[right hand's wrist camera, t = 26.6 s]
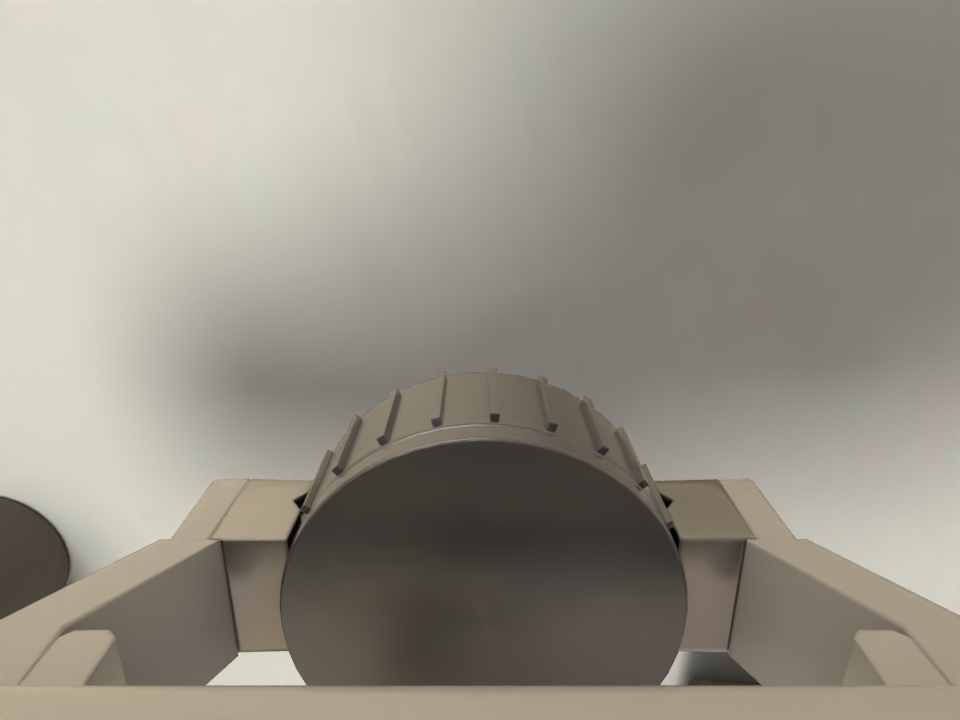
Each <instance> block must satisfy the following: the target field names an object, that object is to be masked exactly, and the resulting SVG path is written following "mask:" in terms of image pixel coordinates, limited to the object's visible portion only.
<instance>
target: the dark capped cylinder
mask: <svg viewBox="0 0 960 720" xmlns="http://www.w3.org/2000/svg"><path fill="white" fill-rule="evenodd" d="M67 574H68V556H67V553H66V549H65V547H64V545H63V542H62V541H61V539H60V537H59V536H58V534H57V533H56V532H55V530H54V529H53V528H52V527H51V526H50V525H49V524H48V523H47V522H46V521H45V520H44V519H43V518H42V517H41V516H39V515H38V514H36V513H35V512H33V511H32V510H30V509H28V508H27V507H25V506H23V505H20V504H18V503H16V502H13V501H10V500H7V499H2V498H0V620H1V619H3V618H5V617H7V616H9V615H11V614H13V613H15V612H17V611H19V610H21V609H23V608H25V607H27V606H29V605H31V604H33V603H35V602H37V601H39V600H41V599H43V598H45V597H47V596H49V595H51V594H52V593H54V592H56V591H58V590H60V589H62V587H63V586H64V584H65V581H66V578H67Z"/></svg>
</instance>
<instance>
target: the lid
mask: <svg viewBox="0 0 960 720" xmlns="http://www.w3.org/2000/svg"><path fill="white" fill-rule="evenodd" d="M300 511H301V512H302V513H301V520H302V523H301V526H300V528H299V530H298V532H297V535H296V537H295V539H294V542H293V544H292V547H291V549H290V552H289V554H288V557H287V559H286V562H285V566H284V571H283V575H282V580H281V587H280V615H281V624H282V630H283V634H284V637H285V641H286V644H287V648H288V651H289V653H290V655H291V658H292V660H293V662H294V664H295V667H296V669H297V670H298V672H299V674H300V675H301V677H302V678H303V680H304V682H305V683H306V685H307V686H660V684H661V683H662V681H663V680H664V678H665V677H666V675H667V674H668V672H669V670H670V668H671V666H672V664H673V662H674V660H675V658H676V656H677V654H678V651H679V648H680V644H681V641H682V638H683V635H684V631H685V624H686V617H687V611H688V600H687V583H686V578H685V572H684V567H683V564H682V561H681V558H680V555H679V552H678V549H677V547H676V544H675V542H674V540H673V537H672V535H671V533H670V531H669V529H671V528H673V527H674V524H673V521H672V519H671V517H670V515H669V513H668V511H667V508H666V506H665V504H664V502H663V500H662V498H661V496H660V494H659V491H658V489H657V487H656V485H655V483H654V481H653V479H652V476H651V474H650V472H649V470H648V468H647V466H646V464H643V465H640V463H639V460H638V458H637V456H636V454H635V452H634V449H633V447H632V445H631V443H630V440H629V438H628V436H627V434H626V432H625V430H624V429H623V428H622V427H620V428H619V429H616V428H615V427H614V426H613V425H612V424H611V423H610V422H609V421H608V420H607V419H606V418H605V417H604V416H603V415H602V414H601V413H599V412H598V411H597V410H595V409H594V407H593V404H592V402H591V400H590V399H588V398H587V397H584V399H583V400H581V399H579V398H577V397H576V396H574V395H572V394H570V393H569V392H567V391H565V390H562V389H560V388H557V387H555V386H552V385H550V384H548V382H547V379H546V378H543V377H539V379H538V380H534V379H530V378H527V377H523V376H517V375H510V374H502V373H497V369H489V373H465V374H456V375H449V376H446V373H445V372H443V373H438V375H437V378H436V379H432V380H428V381H425V382H422V383H419V384H417V385H414V386H411V387H409V388H406V389H404V390H402V391H400V392H399V390H398V388H396V389H394V390H392V391H391V392H390V395H389V398H387V399H385V400H384V401H382V402H381V403H379V404H378V405H377V406H375V407H374V408H372V409H371V410H370V411H368V412H367V413H366V414H365V415H364V416H363V417H361V418H360V417H359V416H358V415H356V416H355V417H354V418H353V419H352V421H351V423H350V426H349V428H348V431H347V433H346V434H345V436H344V437H343V438H342V439H341V441H340V442H339V443H338V445H337V446H336V448H335V450H334V452H332V451H330V450H327V452H326V454H325V456H324V458H323V460H322V463H321V465H320V467H319V469H318V472H317V474H316V476H315V478H314V481H313V483H312V485H311V487H310V490H309V492H308V494H307V496H306V499H305V501H304V503H303V505H302V508H301V510H300Z"/></svg>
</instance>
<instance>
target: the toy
mask: <svg viewBox="0 0 960 720" xmlns="http://www.w3.org/2000/svg"><path fill="white" fill-rule="evenodd" d="M689 686H762V685H761V684H760V683H747V682H732V681H716V680H701V679H695V680H692V681H690V684H689Z"/></svg>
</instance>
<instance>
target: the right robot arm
mask: <svg viewBox="0 0 960 720" xmlns="http://www.w3.org/2000/svg"><path fill="white" fill-rule="evenodd" d="M313 481H314V480H262V479H252V480H250V479H219V480H214V481H213V482H212V483H211V484H210V486H209V487H208V488H207V490H206V491H205V493H204V494H203V495H202V497H201V498H200V499H199V501H198V502H197V504H196V505H195V506H194V508H193V509H192V510H191V512H190V513H189V515H188V516H187V517H186V519H185V520H184V521H183V523H182V524H181V525H180V527H179V528H178V530H177V531H176V532H175V534H174V535H173V536H172V538H171V539H160V540H158V541H156V542H154V543H152V544H150V545H148V546H146V547H144V548H142V549H140V550H138V551H136V552H134V553H132V554H130V555H128V556H126V557H124V558H122V559H120V560H118V561H116V562H114V563H112V564H110V565H108V566H106V567H104V568H102V569H100V570H98V571H96V572H94V573H92V574H90V575H88V576H86V577H84V578H82V579H80V580H78V581H76V582H74V583H72V584H70V585H68V586H66V587H64V588H62V589H60V590H58V591H56V592H54V593H52V594H51V595H49V596H47V597H45V598H43V599H41V600H39V601H37V602H35V603H33V604H31V605H29V606H27V607H25V608H23V609H21V610H19V611H17V612H15V613H13V614H11V615H9V616H7V617H5V618H3V619H1V620H0V720H960V616H959V615H957V614H955V613H953V612H951V611H949V610H947V609H945V608H943V607H941V606H939V605H937V604H935V603H933V602H931V601H929V600H927V599H925V598H923V597H921V596H919V595H917V594H915V593H913V592H911V591H909V590H907V589H905V588H903V587H901V586H899V585H897V584H895V583H893V582H891V581H889V580H887V579H885V578H883V577H881V576H879V575H877V574H875V573H873V572H871V571H869V570H867V569H865V568H863V567H861V566H859V565H857V564H855V563H853V562H851V561H849V560H847V559H845V558H843V557H841V556H839V555H837V554H835V553H833V552H831V551H829V550H827V549H825V548H823V547H821V546H819V545H817V544H815V543H813V542H811V541H809V540H807V539H796V538H795V536H794V535H793V534H792V533H791V531H790V530H789V529H788V527H787V526H786V525H785V523H784V522H783V521H782V519H781V518H780V517H779V515H778V514H777V513H776V511H775V510H774V509H773V507H772V506H771V505H770V503H769V502H768V501H767V499H766V498H765V497H764V495H763V494H762V493H761V491H760V490H759V489H758V487H757V486H756V485H755V483H754V482H753V481H751V480H749V479H723V480H718V479H716V480H675V481H654V483H655V485H656V487H657V489H658V491H659V494H660V496H661V498H662V500H663V502H664V504H665V506H666V508H667V511H668V513H669V515H670V517H671V519H672V521H673V524H674V527H673V528H671V529H669V531H670V533H671V535H672V537H673V540H674V542H675V544H676V547H677V549H678V552H679V555H680V558H681V561H682V564H683V567H684V572H685V578H686V583H687V600H688V611H687V617H686V624H685V631H684V635H683V638H682V641H681V644H680V648H679V651H699V652H729V653H728V655H729V656H730V657H731V658H732V659H733V660H734V661H735V662H736V663H738V664H739V665H740V666H741V667H742V668H743V669H744V670H745V671H746V672H748V673H749V674H750V675H751V676H752V677H753V678H754V679H755V680H756V681H758V682H759V683H760V684H761V685H762V686H205V685H206V684H207V683H209V682H210V681H211V680H212V679H213V678H214V677H215V676H216V675H217V674H218V673H220V672H221V671H222V670H223V669H224V668H225V667H226V666H227V665H228V664H230V663H231V662H232V661H233V660H234V659H235V658H236V657H237V656H238V652H266V651H288V648H287V644H286V641H285V637H284V634H283V630H282V624H281V615H280V587H281V580H282V575H283V571H284V566H285V562H286V559H287V557H288V554H289V552H290V549H291V547H292V544H293V542H294V539H295V537H296V535H297V532H298V530H299V528H300V526H301V523H302V520H301V513H302V512H301V511H300V510H301V508H302V505H303V503H304V501H305V499H306V496H307V494H308V492H309V490H310V487H311V485H312V483H313Z"/></svg>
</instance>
